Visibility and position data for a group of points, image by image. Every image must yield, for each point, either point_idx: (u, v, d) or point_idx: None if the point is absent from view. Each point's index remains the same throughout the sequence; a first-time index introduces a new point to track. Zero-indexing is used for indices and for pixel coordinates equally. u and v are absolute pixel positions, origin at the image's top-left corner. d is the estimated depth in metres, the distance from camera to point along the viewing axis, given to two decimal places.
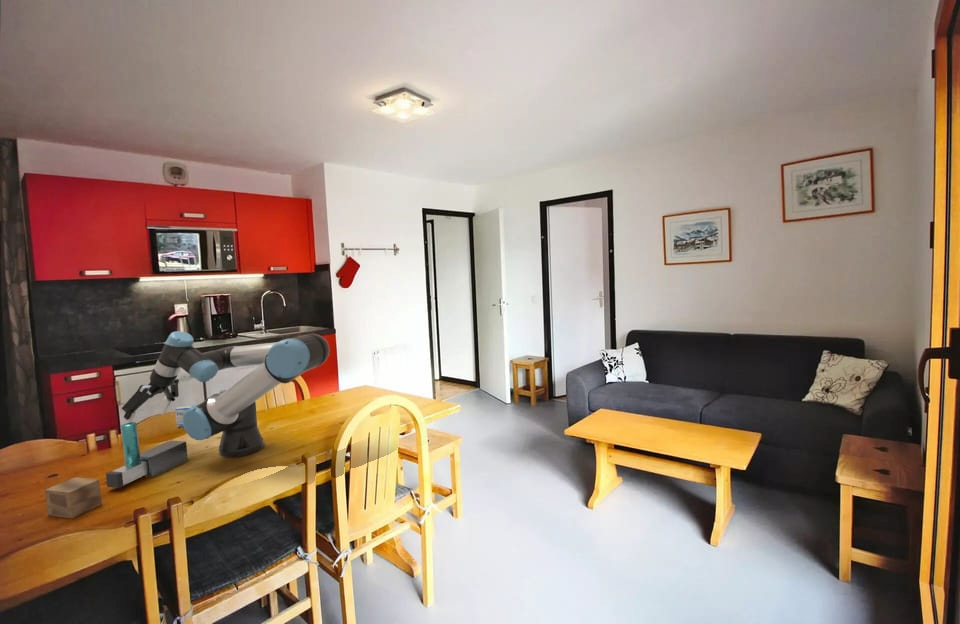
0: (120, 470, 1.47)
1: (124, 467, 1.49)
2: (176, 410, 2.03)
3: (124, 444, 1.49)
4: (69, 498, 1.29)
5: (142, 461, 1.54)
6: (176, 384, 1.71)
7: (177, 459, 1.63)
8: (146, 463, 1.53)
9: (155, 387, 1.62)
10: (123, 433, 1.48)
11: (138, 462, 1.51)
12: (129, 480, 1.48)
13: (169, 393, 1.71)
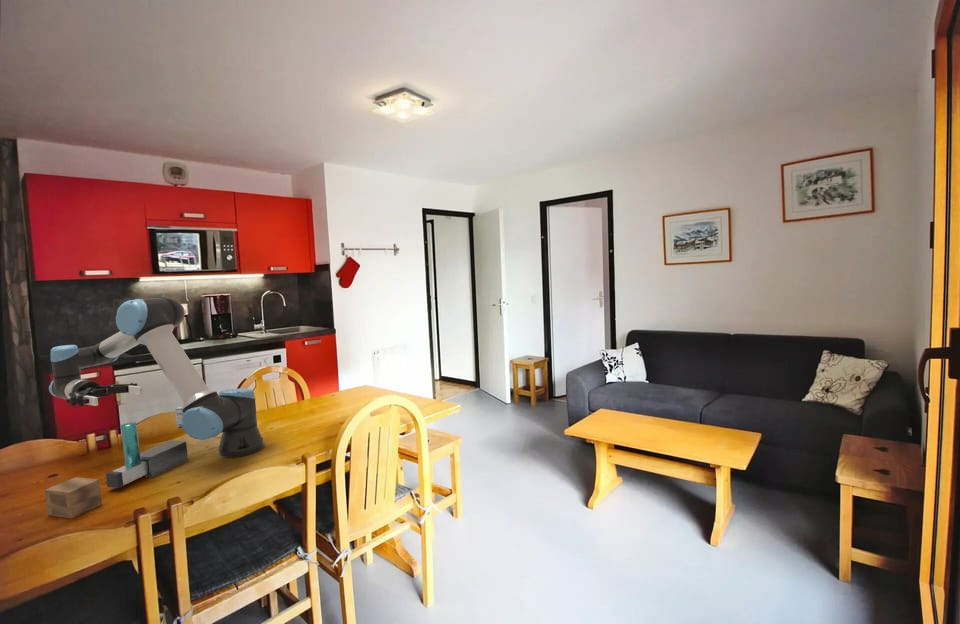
0: (120, 470, 1.47)
1: (124, 467, 1.49)
2: (176, 410, 2.03)
3: (124, 444, 1.49)
4: (69, 498, 1.29)
5: (142, 461, 1.54)
6: (114, 384, 1.70)
7: (177, 459, 1.63)
8: (146, 463, 1.53)
9: (83, 391, 1.62)
10: (123, 433, 1.48)
11: (138, 462, 1.51)
12: (129, 480, 1.48)
13: (116, 386, 1.67)
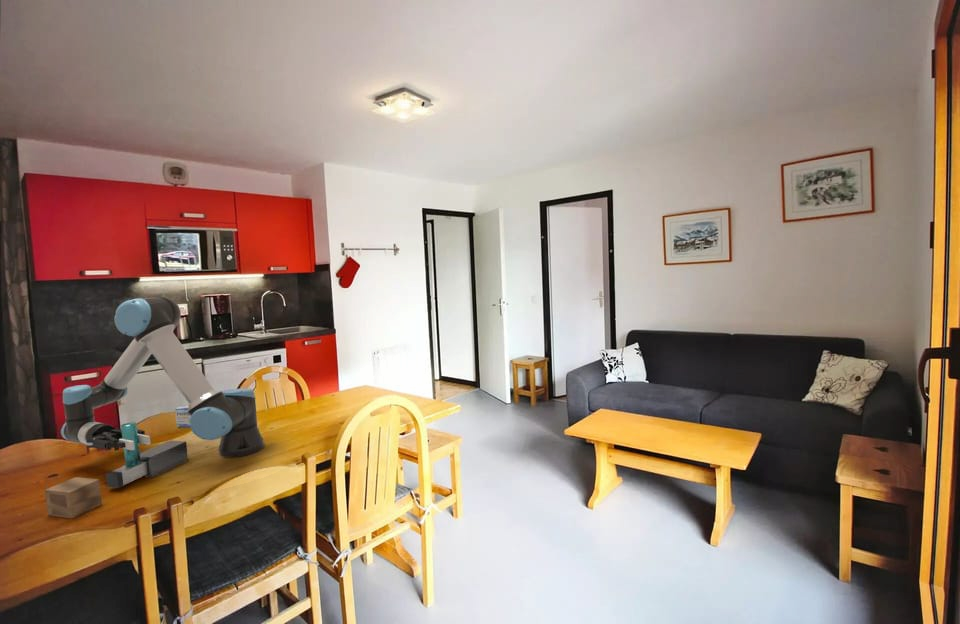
0: (120, 470, 1.47)
1: (124, 467, 1.49)
2: (176, 410, 2.03)
3: None
4: (69, 498, 1.29)
5: (142, 461, 1.54)
6: None
7: (177, 459, 1.63)
8: (146, 463, 1.53)
9: (96, 436, 1.53)
10: (123, 433, 1.48)
11: (138, 462, 1.51)
12: (129, 480, 1.48)
13: None
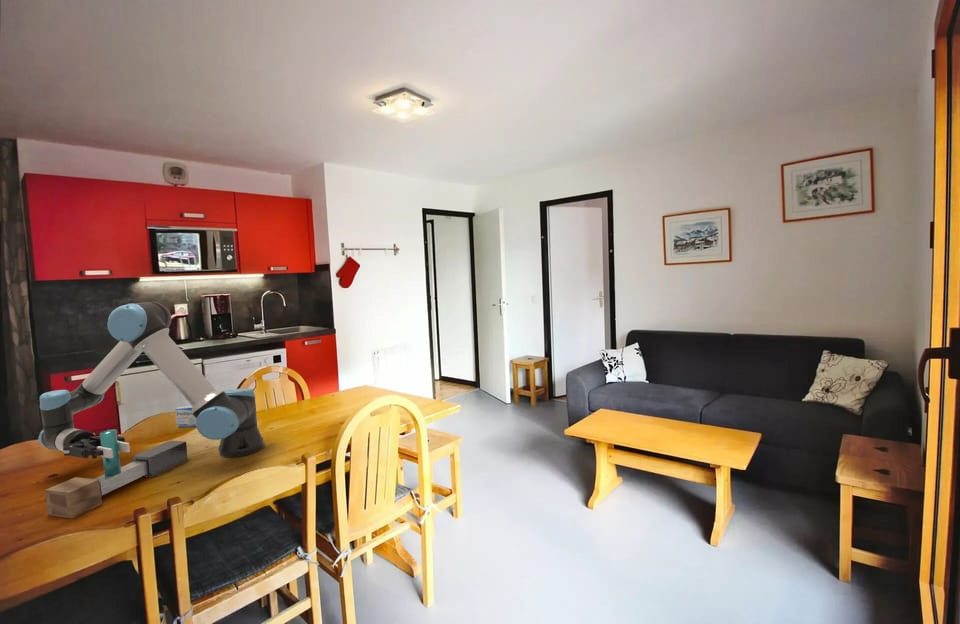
0: (99, 479, 1.41)
1: (103, 476, 1.43)
2: (176, 410, 2.03)
3: None
4: (69, 498, 1.29)
5: (122, 470, 1.47)
6: None
7: (177, 459, 1.63)
8: (126, 472, 1.47)
9: (74, 443, 1.47)
10: (101, 440, 1.42)
11: (117, 470, 1.44)
12: (108, 490, 1.42)
13: None
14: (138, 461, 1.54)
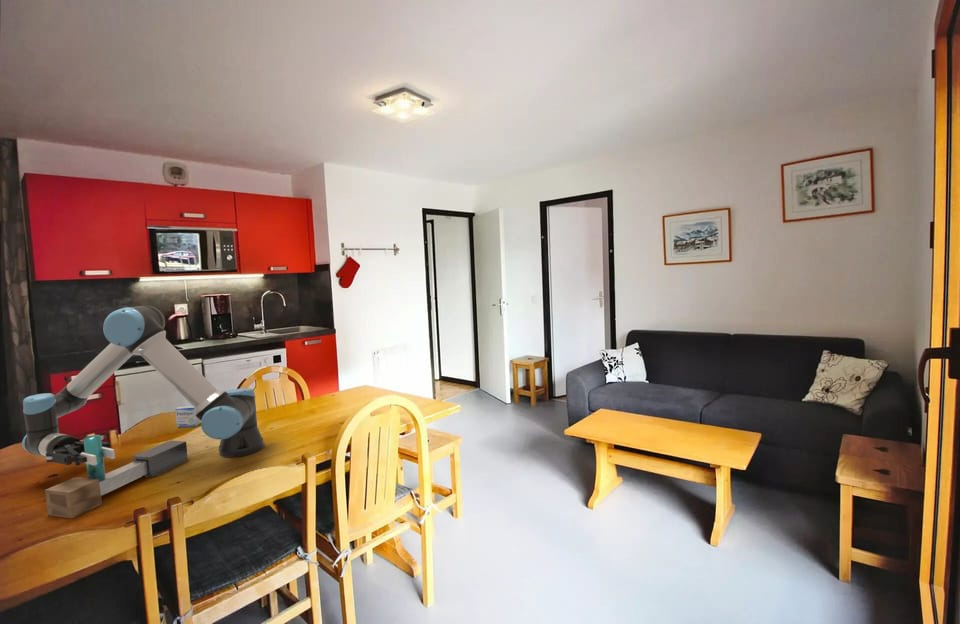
0: None
1: None
2: (176, 410, 2.03)
3: None
4: (69, 498, 1.29)
5: (107, 476, 1.43)
6: None
7: (177, 459, 1.63)
8: (111, 479, 1.42)
9: (58, 449, 1.42)
10: (85, 446, 1.37)
11: (102, 477, 1.40)
12: None
13: None
14: (124, 467, 1.49)
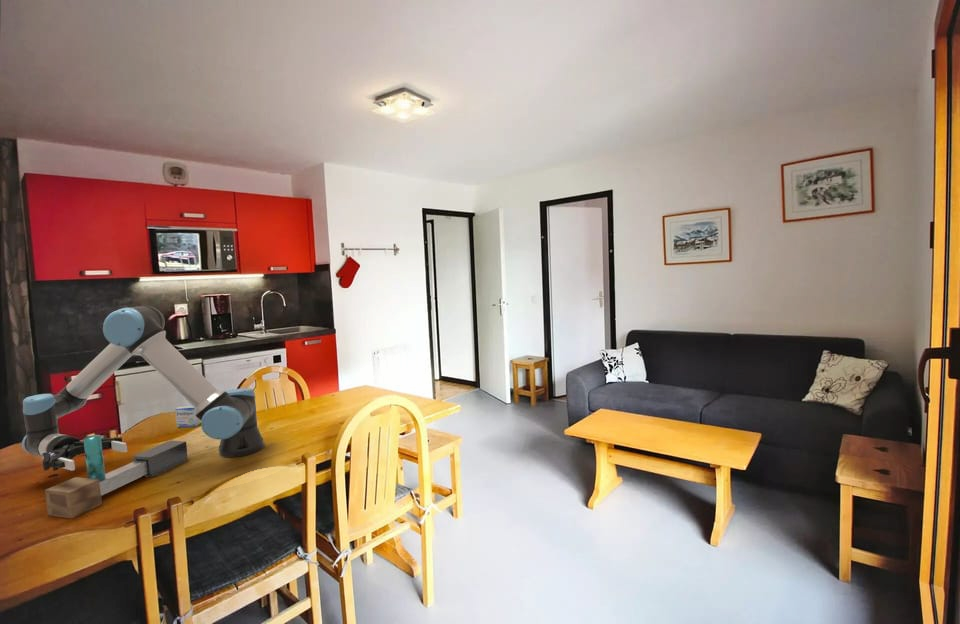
0: None
1: None
2: (176, 410, 2.03)
3: (87, 459, 1.38)
4: (69, 498, 1.29)
5: (107, 476, 1.43)
6: None
7: (177, 459, 1.63)
8: (111, 479, 1.42)
9: (59, 449, 1.42)
10: (85, 446, 1.37)
11: (102, 477, 1.40)
12: None
13: None
14: (124, 467, 1.49)
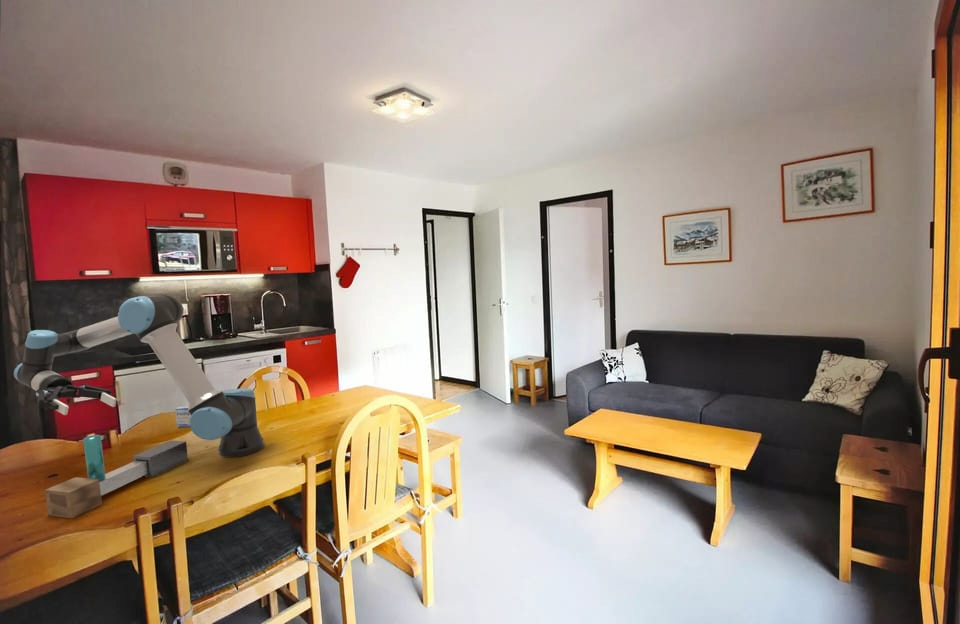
0: None
1: None
2: (176, 410, 2.03)
3: (87, 459, 1.38)
4: (69, 498, 1.29)
5: (107, 476, 1.43)
6: (87, 385, 1.60)
7: (177, 459, 1.63)
8: (111, 479, 1.42)
9: (52, 388, 1.52)
10: (85, 446, 1.37)
11: (102, 477, 1.40)
12: None
13: (89, 389, 1.58)
14: (124, 467, 1.49)
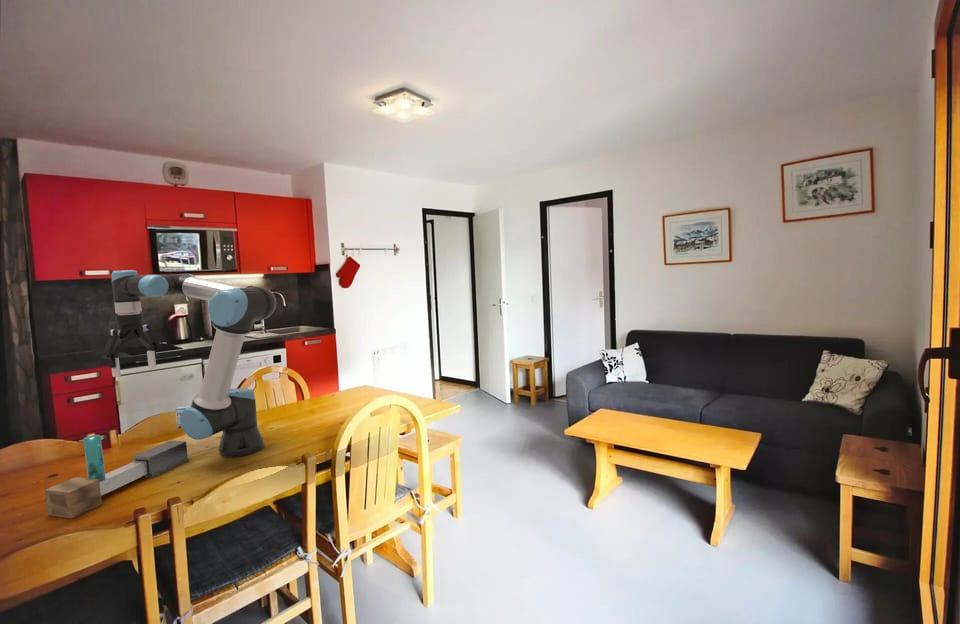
0: None
1: None
2: (176, 410, 2.03)
3: (87, 459, 1.38)
4: (69, 498, 1.29)
5: (107, 476, 1.43)
6: (149, 330, 1.73)
7: (177, 459, 1.63)
8: (111, 479, 1.42)
9: (125, 329, 1.65)
10: (85, 446, 1.37)
11: (102, 477, 1.40)
12: None
13: (147, 340, 1.72)
14: (124, 467, 1.49)
